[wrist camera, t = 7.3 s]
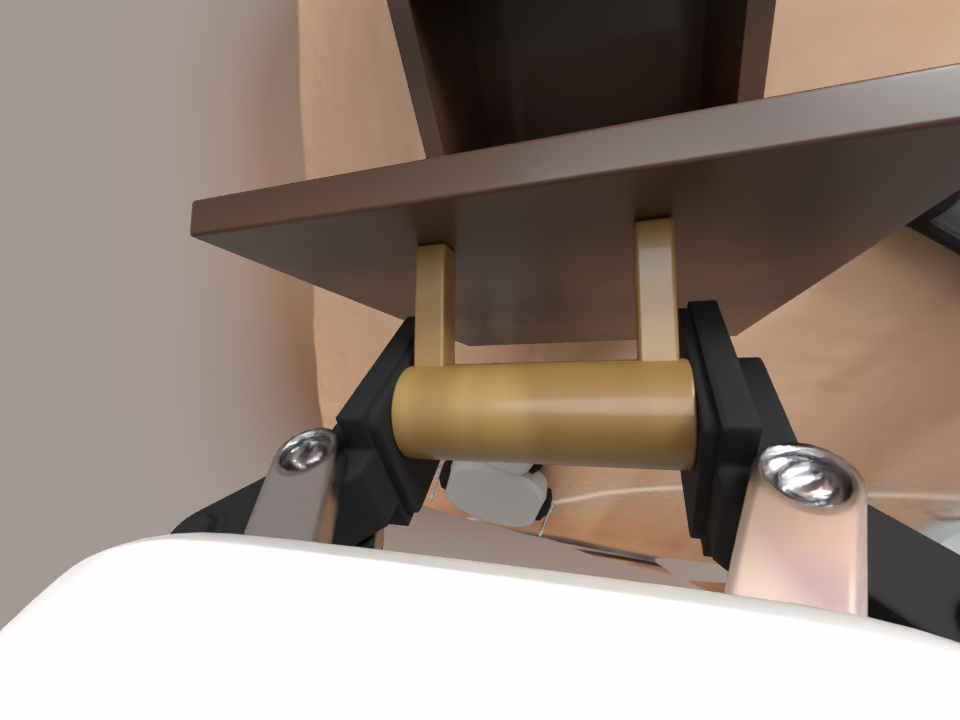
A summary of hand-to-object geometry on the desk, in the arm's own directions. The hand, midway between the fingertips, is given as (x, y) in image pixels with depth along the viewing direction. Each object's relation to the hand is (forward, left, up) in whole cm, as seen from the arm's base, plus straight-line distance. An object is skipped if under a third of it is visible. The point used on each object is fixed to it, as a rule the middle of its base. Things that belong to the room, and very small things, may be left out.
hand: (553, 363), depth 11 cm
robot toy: (+26, +12, -22) cm, 36 cm away
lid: (0, 0, -5) cm, 5 cm away
